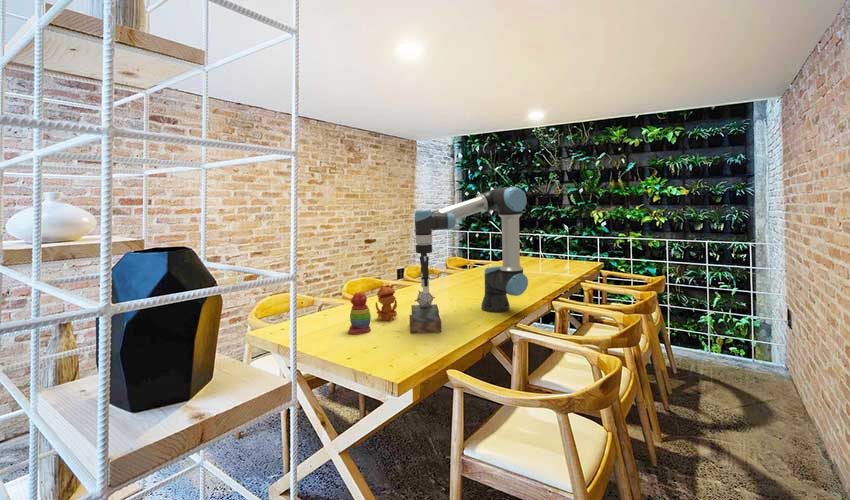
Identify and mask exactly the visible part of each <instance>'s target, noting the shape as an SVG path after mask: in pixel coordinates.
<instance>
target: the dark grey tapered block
mask: <svg viewBox="0 0 850 500" xmlns="http://www.w3.org/2000/svg"><path fill="white" fill-rule="evenodd" d="M431 307H432V308H431ZM431 307H430V306H428V307H422V308H421V306H420V305H419V304H411V314H409V334H439V333H442V320H441V317H440V316H441V315H440V311H439V310H440V309H439V308H438V304H437V303H436V304H431Z"/></svg>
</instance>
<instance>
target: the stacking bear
mask: <svg viewBox="0 0 850 500" xmlns="http://www.w3.org/2000/svg"><path fill="white" fill-rule="evenodd" d="M367 298H368V297H367V295H366V294H365V293H362V292H360V291H359V292H356V293H354V295H353V296H352V297H351V298H350V303H351V305H352V306H351V310H350V314H349V321H350V326H349V329H348V331H347V333H348V335H355V336H356V335H361V334H366V333H369V332H370V331H371V326H370V325H371V318H372V317H371V312H370V308H369V306H368V305H367V302H368V299H367Z"/></svg>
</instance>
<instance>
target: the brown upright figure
mask: <svg viewBox="0 0 850 500" xmlns="http://www.w3.org/2000/svg"><path fill="white" fill-rule="evenodd" d="M395 294H396V290H395V289H394V285H389V284H387V285H385V286H382V285H380V287H379V290H378V291H377V292H376V296H377V300H378V302H379V303H380V304H381V305H382V306H381V309H380V308H379V305H378V302H375V308H376V314H377V318H378V319H381V321H384V322H388V321H392V320H393V319H394V318H397V316H398V313H397V310H396V309H397V307H398V303H397V298H396V297H395V296H394V295H395ZM392 304H393V306H392Z"/></svg>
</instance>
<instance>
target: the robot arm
mask: <svg viewBox="0 0 850 500" xmlns="http://www.w3.org/2000/svg"><path fill="white" fill-rule="evenodd" d="M527 203H528V201H527V196H526V193H525V192H524V191H523V190H522V189H521V188H520V187H514V186H509V187H496V188H493V189H490V190H488V191H484V192H482V193H480V194H478V195H477V196H476V197H473V198H471V199H467V200H464V201H461V202H457V203H454V204H452V205H449V206H445V207H442V208H439V209H437V210H433V211H431V209H418V210H417V209H416V210H415V212H414V219H413V220H414V233H415V235H414V237H413V239H414V240H415V253H416V254H420V256H419V263H420V278H421V279H420V280H421V281H420V283H421V285H420V286H421V288H422V292H423V294H426V293H429V292H430V279H429V278H430V274H429V266H430V264H429V263H430V262H429V261H430V258H429V256H428V254H432V252H433V245H432V243H433V232H432V231H440V230H441V231H445V230H446V231H447V230H452V229H454V228H455V227H456V224H457V222H456V220H460V219H462V218H465V217H468V216H471V215H474V214H477V213H481V212H482V213H487V212H493V211H497V212H498V217H500V219H501V245H502V246H501V248H502V253H501V255H502V266H501V265H500V266H490V267H489V266H488V267H486V268H485V269H484V295H483V299H482V300H481V310H483V311H486V312H489V313H504V312H508V311H510V310H509V309H511V308H510V302H509V301H510V300H509V299H508V295H509V296H515V297H517V296H521V295H522V294H524V293H525V292H526V290H527V289H528V285H529V279H528V277H527V276H526V274H525V273H524V268H523V266H521V253H520V252H521V250H520V249H521V248H520V246H521V245H520V217H521V216H523V210H524V209H525V207H526V206H527Z"/></svg>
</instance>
